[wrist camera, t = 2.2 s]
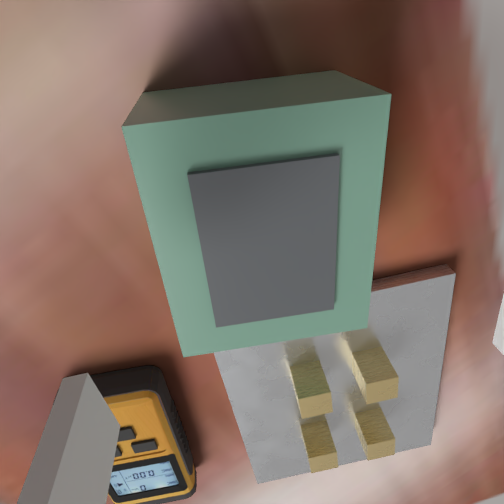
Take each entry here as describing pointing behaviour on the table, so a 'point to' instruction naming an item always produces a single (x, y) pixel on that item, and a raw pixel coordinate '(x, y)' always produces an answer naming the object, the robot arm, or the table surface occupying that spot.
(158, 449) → the electronic device
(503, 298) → the robot arm
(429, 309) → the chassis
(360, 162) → the block
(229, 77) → the table surface
